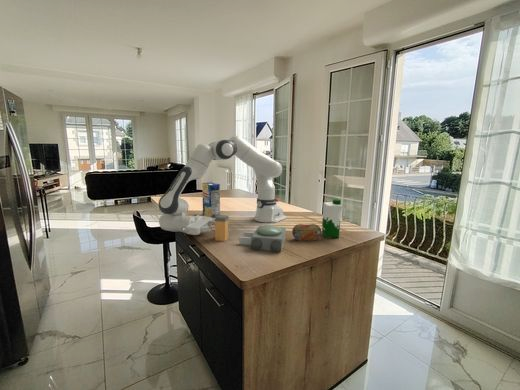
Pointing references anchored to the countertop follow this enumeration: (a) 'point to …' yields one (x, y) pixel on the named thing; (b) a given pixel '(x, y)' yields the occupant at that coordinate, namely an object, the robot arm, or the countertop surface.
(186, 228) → the robot arm
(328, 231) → the milk carton
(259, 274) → the countertop surface
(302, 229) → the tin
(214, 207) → the beverage box
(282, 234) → the gray toy machine
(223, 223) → the orange gray block
